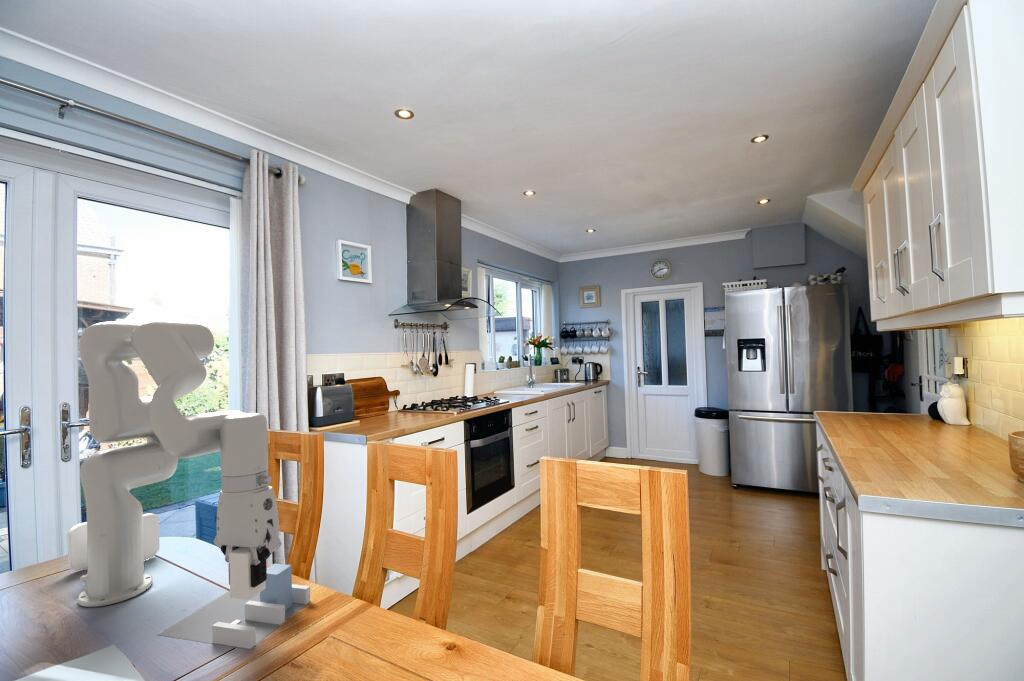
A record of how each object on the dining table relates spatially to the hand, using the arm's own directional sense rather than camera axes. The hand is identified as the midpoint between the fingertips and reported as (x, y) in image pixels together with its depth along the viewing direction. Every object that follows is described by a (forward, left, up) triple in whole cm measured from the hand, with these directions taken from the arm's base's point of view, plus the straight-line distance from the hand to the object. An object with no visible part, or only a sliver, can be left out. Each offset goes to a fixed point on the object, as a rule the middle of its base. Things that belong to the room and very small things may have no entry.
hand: (248, 581), depth 87 cm
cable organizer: (-58, +19, -11) cm, 62 cm away
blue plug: (0, +7, -9) cm, 12 cm away
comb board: (-6, +4, -11) cm, 13 cm away
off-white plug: (0, 0, -2) cm, 2 cm away
